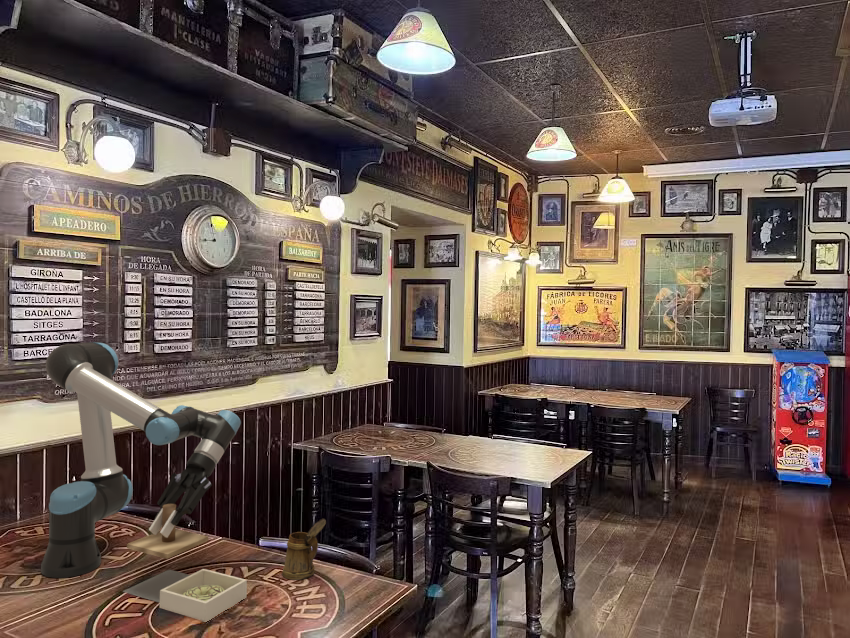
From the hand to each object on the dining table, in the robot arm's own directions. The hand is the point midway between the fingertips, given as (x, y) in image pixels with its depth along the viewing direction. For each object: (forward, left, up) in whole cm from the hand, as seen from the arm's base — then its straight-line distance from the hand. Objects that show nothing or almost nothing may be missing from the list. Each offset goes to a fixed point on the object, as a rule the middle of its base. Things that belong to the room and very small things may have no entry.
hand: (158, 533), depth 167 cm
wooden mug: (+28, +28, -16) cm, 42 cm away
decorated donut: (+15, +1, -17) cm, 22 cm away
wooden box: (+15, +1, -16) cm, 22 cm away
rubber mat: (0, +4, -16) cm, 17 cm away
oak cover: (0, +4, -4) cm, 6 cm away
